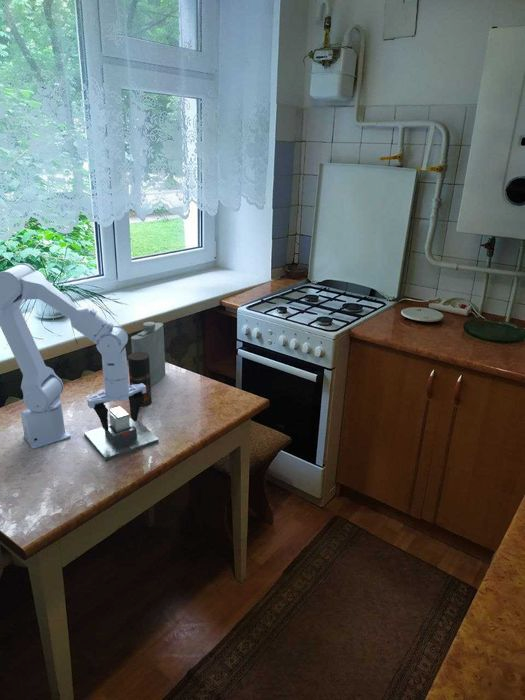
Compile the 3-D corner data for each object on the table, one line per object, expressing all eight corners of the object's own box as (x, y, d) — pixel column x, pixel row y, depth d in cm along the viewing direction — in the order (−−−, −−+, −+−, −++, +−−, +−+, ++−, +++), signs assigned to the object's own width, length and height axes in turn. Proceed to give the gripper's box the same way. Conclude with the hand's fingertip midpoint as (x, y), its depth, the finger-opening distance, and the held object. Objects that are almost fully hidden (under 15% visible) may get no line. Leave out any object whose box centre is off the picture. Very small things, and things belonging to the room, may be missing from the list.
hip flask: (158, 371, 167) (156, 314, 159) (169, 373, 166) (167, 316, 158) (132, 391, 153) (128, 330, 145) (144, 393, 152) (140, 332, 144)
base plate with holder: (105, 461, 118) (104, 448, 117) (84, 435, 128) (83, 424, 127) (158, 442, 127) (158, 430, 125) (134, 419, 137) (133, 408, 135)
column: (118, 442, 124) (116, 418, 122) (110, 433, 128) (107, 409, 125) (132, 437, 126) (130, 413, 124) (123, 429, 130) (121, 405, 127)
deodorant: (154, 398, 148) (151, 352, 143) (148, 408, 143) (145, 360, 137) (135, 397, 149) (131, 351, 143) (128, 406, 143) (124, 359, 138)
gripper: (92, 389, 114) (98, 440, 119) (150, 374, 122) (153, 422, 127) (81, 378, 119) (87, 427, 124) (137, 364, 127) (140, 411, 132)
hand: (120, 424), depth 126 cm, fingers open, 7 cm apart
